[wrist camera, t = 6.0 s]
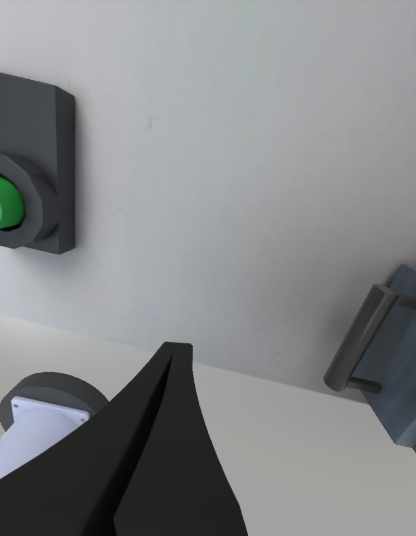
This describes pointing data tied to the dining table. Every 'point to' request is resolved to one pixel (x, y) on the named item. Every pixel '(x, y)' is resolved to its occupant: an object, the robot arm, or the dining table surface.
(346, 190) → the dining table surface
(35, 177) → the control block
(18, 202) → the button
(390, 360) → the drawer
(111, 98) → the dining table surface
